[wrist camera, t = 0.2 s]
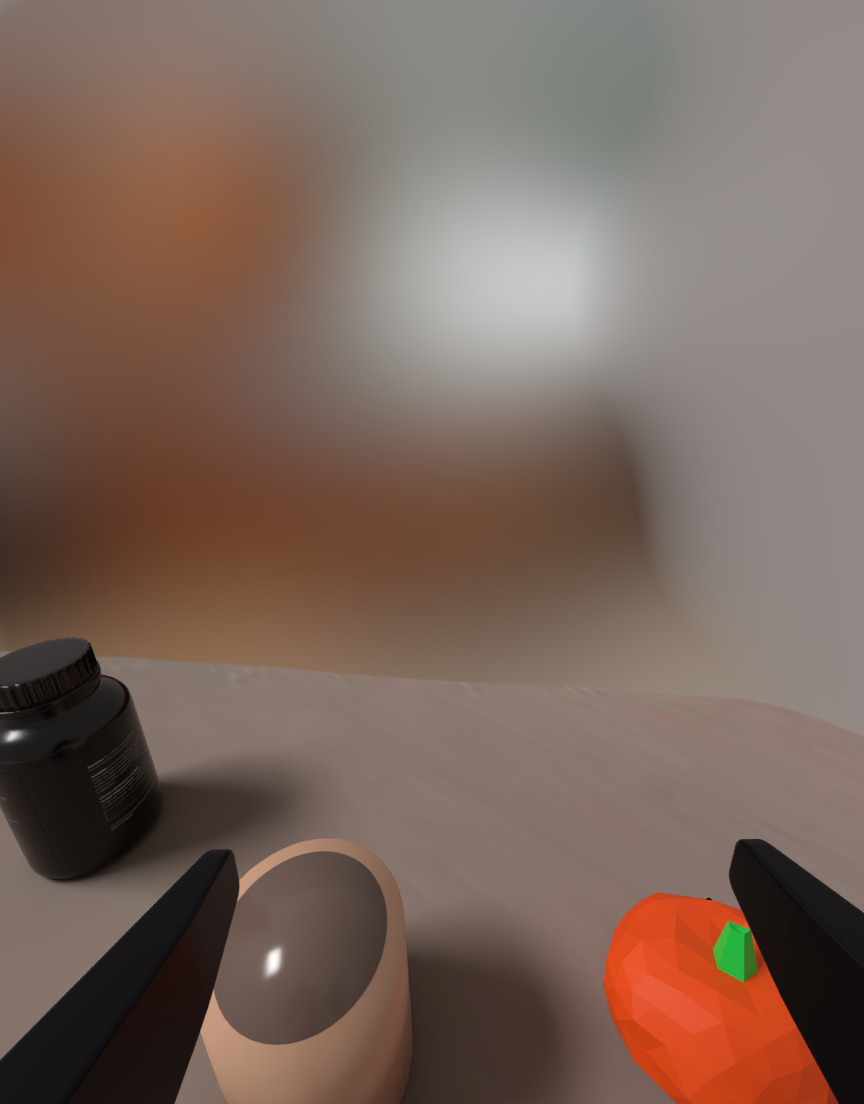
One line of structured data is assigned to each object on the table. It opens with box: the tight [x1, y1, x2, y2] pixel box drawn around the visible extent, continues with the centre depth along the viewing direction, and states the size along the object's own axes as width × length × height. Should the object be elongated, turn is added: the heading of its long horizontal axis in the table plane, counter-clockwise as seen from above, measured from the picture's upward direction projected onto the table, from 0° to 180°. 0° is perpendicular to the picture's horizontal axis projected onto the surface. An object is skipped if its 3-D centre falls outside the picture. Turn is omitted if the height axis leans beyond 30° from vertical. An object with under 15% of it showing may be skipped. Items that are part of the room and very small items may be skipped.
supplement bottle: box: [0, 638, 163, 879], centre depth 26 cm, size 7×7×12 cm
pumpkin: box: [603, 893, 838, 1104], centre depth 17 cm, size 7×8×6 cm
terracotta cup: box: [200, 838, 413, 1104], centre depth 17 cm, size 7×7×7 cm
